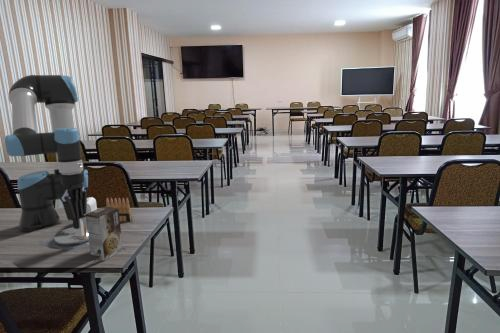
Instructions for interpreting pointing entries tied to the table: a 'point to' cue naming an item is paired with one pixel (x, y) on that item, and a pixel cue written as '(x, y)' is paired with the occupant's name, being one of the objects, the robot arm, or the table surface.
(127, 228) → the table surface
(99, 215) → the coffee box
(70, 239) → the dial
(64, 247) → the panel
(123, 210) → the ammunition clip
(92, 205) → the photo printer
